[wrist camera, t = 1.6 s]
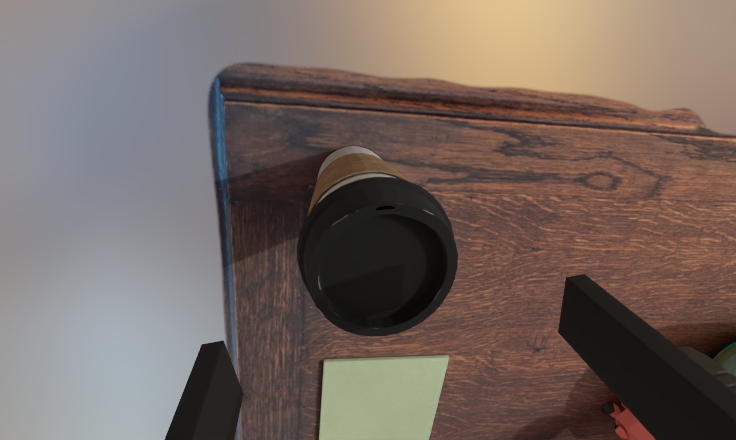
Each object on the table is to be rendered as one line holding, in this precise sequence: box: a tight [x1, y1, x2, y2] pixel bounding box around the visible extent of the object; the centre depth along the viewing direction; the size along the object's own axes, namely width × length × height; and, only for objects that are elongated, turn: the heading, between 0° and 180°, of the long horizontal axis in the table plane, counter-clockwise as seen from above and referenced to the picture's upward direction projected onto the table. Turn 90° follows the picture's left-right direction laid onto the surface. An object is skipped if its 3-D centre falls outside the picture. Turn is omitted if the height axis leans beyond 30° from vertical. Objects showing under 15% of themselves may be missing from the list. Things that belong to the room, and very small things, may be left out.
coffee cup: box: [297, 146, 458, 337], centre depth 24 cm, size 8×8×15 cm
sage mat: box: [319, 355, 449, 440], centre depth 43 cm, size 20×14×1 cm
